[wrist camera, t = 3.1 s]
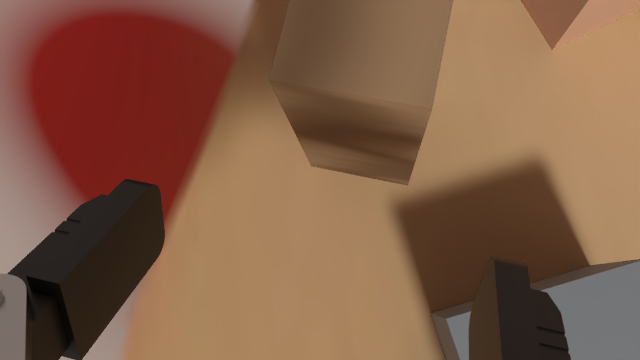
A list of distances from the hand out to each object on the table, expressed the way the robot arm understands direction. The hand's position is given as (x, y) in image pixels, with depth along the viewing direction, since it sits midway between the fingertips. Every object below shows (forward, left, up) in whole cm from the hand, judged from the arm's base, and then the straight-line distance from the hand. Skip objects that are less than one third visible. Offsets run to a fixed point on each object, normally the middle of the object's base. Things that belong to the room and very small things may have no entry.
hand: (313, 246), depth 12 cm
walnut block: (-3, -6, -11) cm, 13 cm away
